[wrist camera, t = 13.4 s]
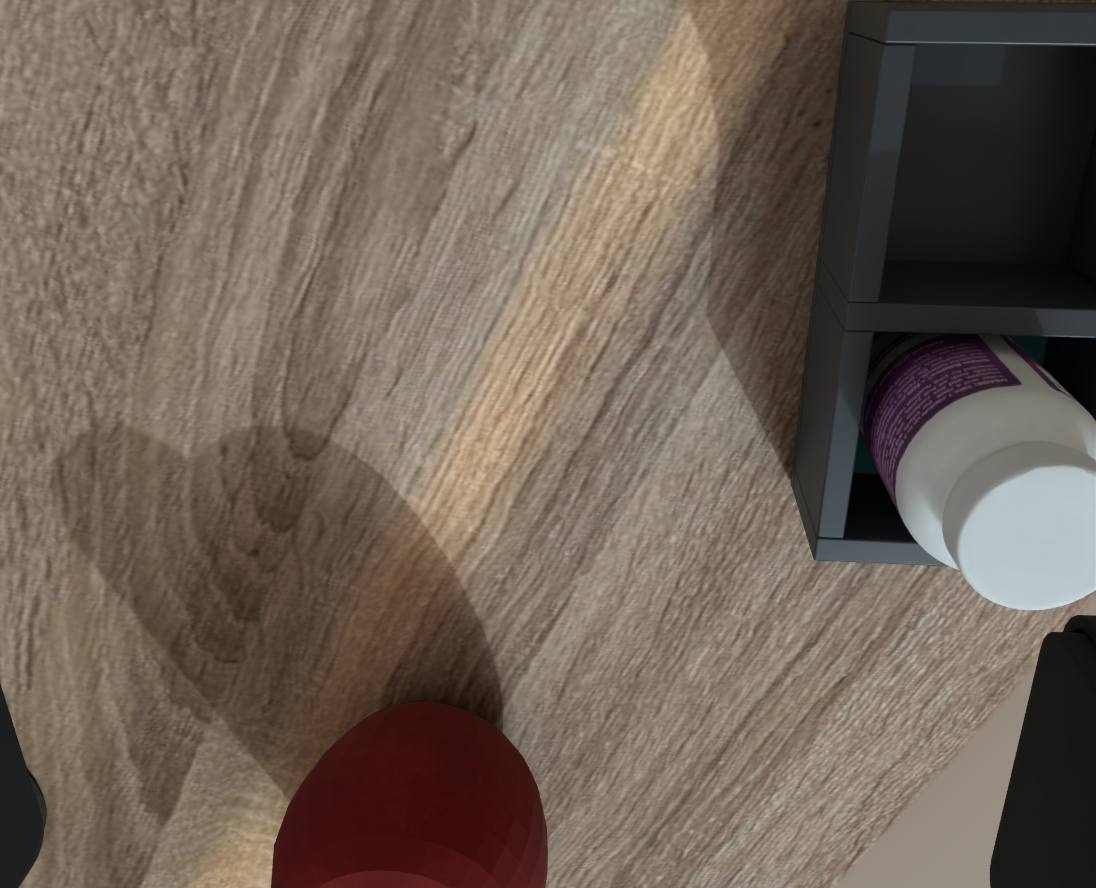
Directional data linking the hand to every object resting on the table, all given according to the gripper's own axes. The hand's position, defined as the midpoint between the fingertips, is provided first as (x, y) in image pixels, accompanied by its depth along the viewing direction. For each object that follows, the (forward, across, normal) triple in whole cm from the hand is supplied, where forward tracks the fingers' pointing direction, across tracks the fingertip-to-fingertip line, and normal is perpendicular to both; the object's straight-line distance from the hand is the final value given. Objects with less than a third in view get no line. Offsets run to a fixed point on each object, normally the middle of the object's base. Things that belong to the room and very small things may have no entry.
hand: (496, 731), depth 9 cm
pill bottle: (+24, -11, +7) cm, 27 cm away
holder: (+25, -11, +3) cm, 27 cm away
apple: (+25, +6, +23) cm, 34 cm away
